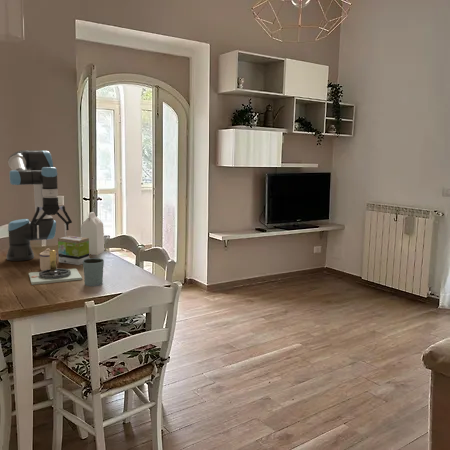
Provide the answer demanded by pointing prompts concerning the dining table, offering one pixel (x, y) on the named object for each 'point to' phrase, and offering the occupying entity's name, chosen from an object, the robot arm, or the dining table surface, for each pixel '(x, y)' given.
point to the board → (39, 280)
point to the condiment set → (45, 260)
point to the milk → (93, 234)
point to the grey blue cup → (93, 271)
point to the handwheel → (54, 268)
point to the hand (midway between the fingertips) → (52, 237)
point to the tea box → (73, 249)
